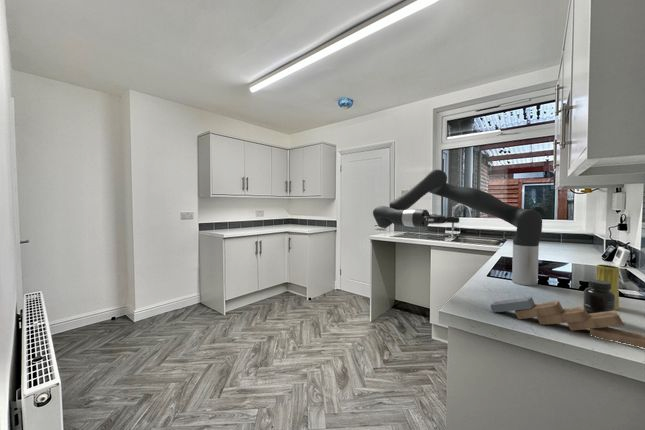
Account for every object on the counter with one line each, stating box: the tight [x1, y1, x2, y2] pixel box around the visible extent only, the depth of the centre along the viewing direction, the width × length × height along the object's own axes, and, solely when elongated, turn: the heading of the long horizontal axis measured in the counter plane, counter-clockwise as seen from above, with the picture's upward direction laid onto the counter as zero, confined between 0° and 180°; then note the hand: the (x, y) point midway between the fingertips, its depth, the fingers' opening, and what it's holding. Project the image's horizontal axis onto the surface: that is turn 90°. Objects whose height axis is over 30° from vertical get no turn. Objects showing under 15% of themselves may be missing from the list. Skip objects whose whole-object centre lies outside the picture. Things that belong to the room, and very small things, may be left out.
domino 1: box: [490, 296, 536, 313], centre depth 87 cm, size 5×2×11 cm
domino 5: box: [589, 326, 645, 348], centre depth 71 cm, size 5×2×11 cm
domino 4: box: [567, 310, 625, 331], centre depth 75 cm, size 5×2×11 cm
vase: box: [595, 264, 620, 311], centre depth 93 cm, size 6×6×14 cm
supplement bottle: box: [582, 279, 616, 314], centre depth 83 cm, size 7×7×12 cm
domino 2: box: [514, 300, 564, 320], centre depth 82 cm, size 5×2×11 cm
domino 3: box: [536, 306, 588, 326], centre depth 79 cm, size 5×2×11 cm
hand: (458, 220), depth 102 cm, fingers closed
